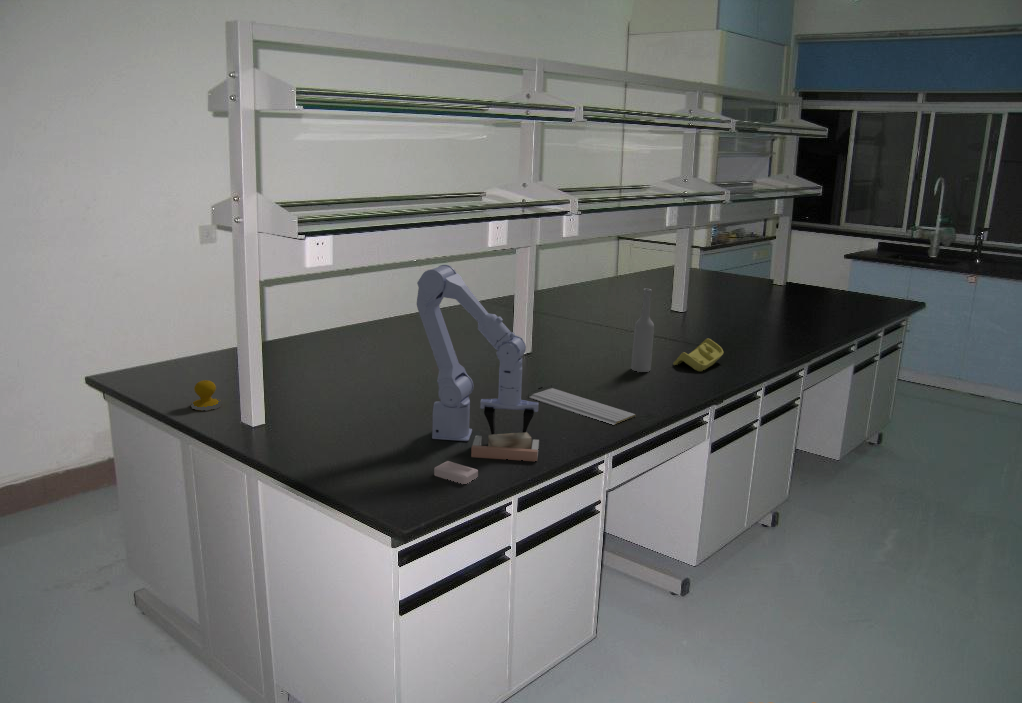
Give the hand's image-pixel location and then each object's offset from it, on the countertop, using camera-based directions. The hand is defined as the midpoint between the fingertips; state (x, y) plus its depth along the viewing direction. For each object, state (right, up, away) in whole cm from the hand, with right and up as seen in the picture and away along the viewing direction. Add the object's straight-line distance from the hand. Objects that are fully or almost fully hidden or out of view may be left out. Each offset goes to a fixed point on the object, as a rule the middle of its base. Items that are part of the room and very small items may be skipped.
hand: (508, 436), depth 203 cm
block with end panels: (-1, -3, -5) cm, 6 cm away
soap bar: (-12, -8, -20) cm, 24 cm away
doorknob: (-84, +6, +18) cm, 86 cm away
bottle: (+45, +15, +69) cm, 84 cm away
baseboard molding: (+20, +4, +29) cm, 36 cm away
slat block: (0, -3, -4) cm, 6 cm away
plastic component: (+67, +17, +79) cm, 105 cm away
